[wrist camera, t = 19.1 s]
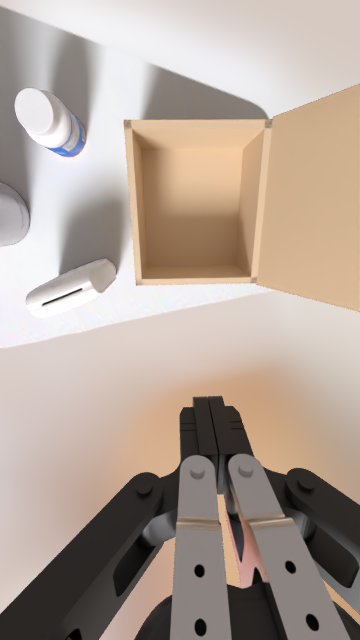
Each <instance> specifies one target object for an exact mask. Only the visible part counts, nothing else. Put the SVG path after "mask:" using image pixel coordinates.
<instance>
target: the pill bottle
mask: <svg viewBox="0 0 360 640" xmlns="http://www.w3.org/2000/svg"><path fill="white" fill-rule="evenodd" d="M15 112H16V116H17V118H18V120H19V122H20V123H21V124H22V126H23V127H24V128H25V130H26V131H27V133H28V134H29V136H30V137H31V138H32V139H33V140H34V141H35V142H37V143H39V144H40V145H42V146H44V147H46V148H48V149H49V150H51V151H53V152H55V153H57V154H59V155H61V156H64V157H74V156H76V155H78V154H79V153H80V152H81V151H82V150H83V148H84V145H85V140H86V137H85V131H84V128H83V126H82V124H81V122H80V121H79V119H78V118H77V117H76V116H75V115H74V114H73V113H72V112H71V111H70V110H69V109H68V108H67V107H66V106H65V105H64V104H63V103H62V102H61V101H60V100H59V99H58V98H57V97H56V96H55V95H53V94H51V93H49V92H47V91H42V90H38V89H35V88H25V89H23V90H21V91H20V92H19V93H18V95H17V97H16V99H15Z"/></svg>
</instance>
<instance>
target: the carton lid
mask: <svg viewBox="0 0 360 640" xmlns="http://www.w3.org/2000/svg"><path fill="white" fill-rule="evenodd" d="M256 285H260V286H263V287H267V288H271V289H275V290H278V291H282V292H286V293H290V294H293V295H298V296H301V297H305V298H309V299H312V300H316V301H320V302H324V303H327V304H331V305H335V306H339V307H343V308H346V309H350V310H354V311H358V312H360V84H358V85H355V86H353V87H350V88H347V89H345V90H342V91H340V92H337V93H334V94H332V95H329V96H327V97H324V98H321V99H319V100H316V101H314V102H311V103H308V104H306V105H303V106H301V107H298V108H295V109H293V110H290V111H288V112H285V113H282V114H280V115H277V116H274V117H273V121H272V132H271V142H270V152H269V162H268V172H267V182H266V193H265V203H264V213H263V223H262V233H261V243H260V254H259V264H258V274H257V284H256Z"/></svg>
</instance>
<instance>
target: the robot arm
mask: <svg viewBox="0 0 360 640" xmlns="http://www.w3.org/2000/svg"><path fill="white" fill-rule="evenodd" d="M29 222H30V219H29V212H28V209H27V206H26V204H25V203H24V201H23V199H22V198H21V197H20V195H19V194H18V193H17V192H16V191H15V190H14V189H12V188H11V187H9V186H8V185H6V184H4V183H2V182H0V247H2V246H8V245H13V244H16V243H18V242H20V241H21V240H22V239H23V238H24V237H25V235H26V234H27V232H28V229H29ZM180 454H181V462H180V464H179V466H178V468H177V469H176V470H175V471H174V472H173V473H171V474H169V475H167V476H164V477H161V478H159V477H158V476H157V475H155V474H153V473H149V472H144V473H140V474H138V475H136V476H134V477H133V478H132V479H131V480H130V481H129V482H128V483H127V484H126V485H125V486H124V487H123V488H122V489H121V490H120V491H119V492H118V493H117V494H116V495H115V496H114V497H113V499H111V501H110V502H109V503H108V504H107V505H106V506H105V507H104V508H103V509H102V510H101V511H100V512H99V513H98V514H97V515H96V516H95V517H94V518H93V519H92V520H91V521H90V522H89V523H88V524H87V525H86V526H85V527H84V528H83V529H82V530H81V531H80V532H79V534H78V535H77V536H76V537H75V538H74V539H73V540H72V541H71V542H70V543H69V544H68V545H67V546H66V547H65V548H64V549H63V550H62V551H61V552H60V553H59V554H58V555H57V556H56V557H55V558H54V559H53V560H52V561H51V562H50V563H49V564H48V565H47V566H46V568H45V569H44V570H43V571H42V572H41V573H40V574H39V575H38V576H37V577H36V578H35V579H34V580H33V581H32V582H31V583H30V584H29V585H28V586H27V587H26V588H25V589H24V590H23V591H22V592H21V593H20V594H19V596H18V597H16V599H14V601H13V602H12V603H11V604H10V605H9V606H8V607H7V608H6V609H5V610H4V611H3V612H2V613H1V614H0V640H99V638H100V637H101V635H102V634H103V633H104V631H105V629H106V628H107V627H108V625H109V624H110V622H111V621H112V619H113V618H114V616H115V615H116V613H117V612H118V611H119V609H120V608H121V606H122V604H123V603H124V602H125V600H126V599H127V597H128V596H129V594H130V593H131V591H132V590H133V589H134V587H135V586H136V584H137V583H138V581H139V580H140V578H141V577H142V575H143V574H144V572H145V571H146V569H147V568H148V566H149V565H150V563H151V562H152V560H153V559H154V558H155V556H156V554H157V553H158V552H159V550H160V549H161V547H162V546H163V544H164V542H165V541H167V540H169V539H171V538H174V537H176V539H175V541H176V542H175V558H174V575H173V576H174V577H173V594H172V595H170V596H169V597H167V598H166V599H164V600H163V601H162V602H161V603H160V604H158V605H157V606H156V607H155V609H154V610H153V611H152V612H151V613H150V615H149V616H148V617H147V619H146V620H145V622H144V623H143V625H142V627H141V628H140V630H139V632H138V634H137V635H136V638H135V639H134V640H360V625H359V624H358V623H357V622H356V621H355V620H354V619H353V618H352V617H351V616H350V615H349V614H348V613H347V612H346V611H345V610H344V609H343V608H341V607H340V606H339V605H338V604H337V603H335V602H334V601H333V600H332V599H331V597H330V595H329V593H328V591H327V589H326V587H325V584H324V582H323V580H324V581H325V582H327V584H328V585H329V586H331V588H333V589H334V590H335V591H336V592H337V593H338V594H339V595H340V596H341V597H342V598H343V599H344V600H345V601H346V602H347V603H348V604H349V605H350V606H351V607H352V608H353V609H354V610H355V611H357V612H358V613H359V614H360V505H359V504H357V503H356V502H354V501H353V500H352V499H350V498H349V497H347V496H346V495H344V494H343V493H341V492H340V491H338V490H337V489H336V488H334V487H333V486H331V485H330V484H328V483H327V482H326V481H324V480H323V479H321V478H320V477H318V476H317V475H315V474H314V473H312V472H311V471H308V470H306V469H302V468H294V469H291V470H290V471H289V472H288V473H287V475H284V474H281V473H277V472H273V471H270V470H268V469H266V468H264V467H263V466H262V465H261V463H260V462H259V461H258V460H257V459H256V458H255V457H254V455H253V452H252V449H251V446H250V443H249V440H248V437H247V434H246V431H245V429H244V425H243V423H242V419H241V417H240V414H239V412H238V411H237V410H236V409H235V408H234V407H233V406H225V405H224V401H223V398H222V396H208V397H193V407H184V408H183V409H182V411H181V413H180ZM216 489H217V490H216ZM217 494H224V499H225V516H226V521H227V525H228V528H229V533H230V536H231V540H232V545H233V549H234V553H235V557H236V561H237V565H238V570H239V577H240V587H241V588H238V587H235V586H232V585H228V584H227V583H226V571H225V561H224V550H223V538H222V528H221V523H220V522H219V514H218V502H217ZM322 579H323V580H322Z"/></svg>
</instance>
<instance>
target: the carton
mask: <svg viewBox="0 0 360 640" xmlns="http://www.w3.org/2000/svg"><path fill="white" fill-rule="evenodd" d="M272 121H273V119H220V120H124V131H125V145H126V158H127V172H128V185H129V198H130V212H131V225H132V238H133V252H134V265H135V278H136V285H184V284H241V283H257V274H258V264H259V254H260V243H261V233H262V223H263V213H264V203H265V193H266V182H267V172H268V162H269V152H270V142H271V132H272Z"/></svg>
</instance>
